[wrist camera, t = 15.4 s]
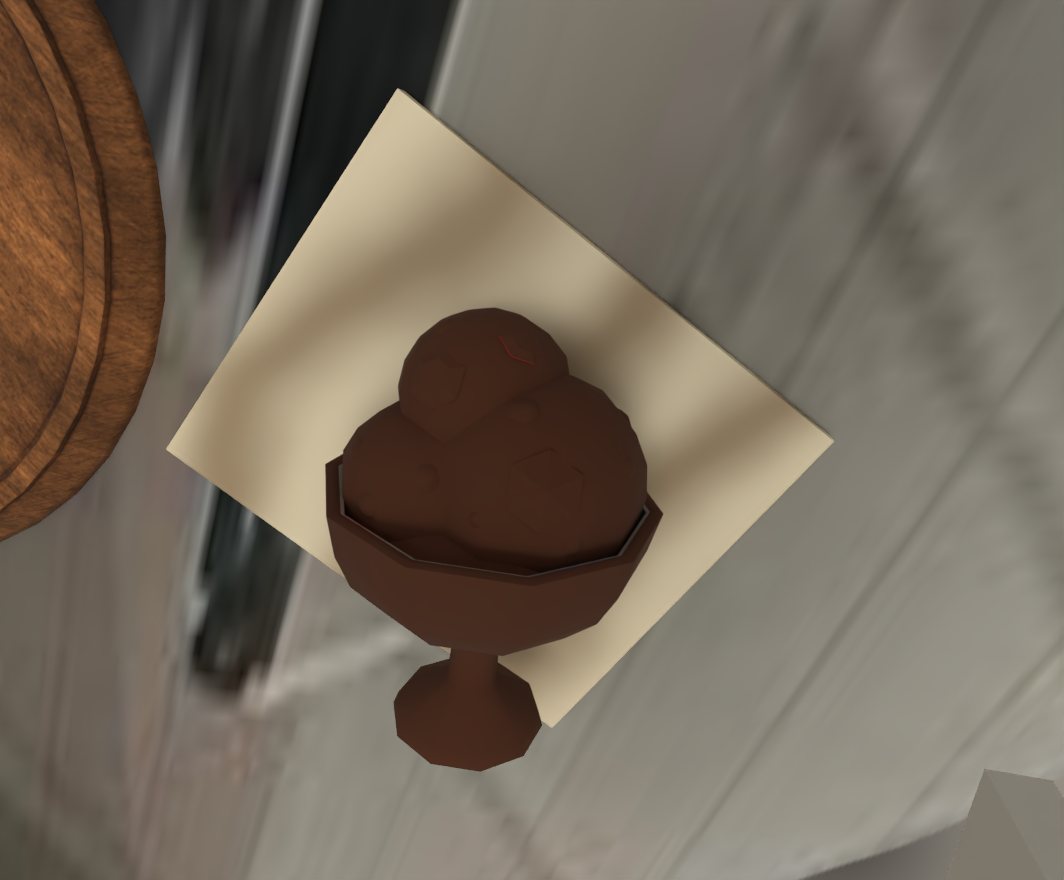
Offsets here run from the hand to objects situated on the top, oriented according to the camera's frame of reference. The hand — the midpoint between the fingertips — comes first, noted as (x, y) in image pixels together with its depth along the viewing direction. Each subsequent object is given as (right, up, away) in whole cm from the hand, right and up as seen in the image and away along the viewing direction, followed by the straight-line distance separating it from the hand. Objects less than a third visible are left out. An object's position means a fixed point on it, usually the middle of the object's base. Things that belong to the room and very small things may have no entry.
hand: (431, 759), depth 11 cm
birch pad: (-1, +4, +22) cm, 23 cm away
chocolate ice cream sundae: (-1, -6, +20) cm, 21 cm away
